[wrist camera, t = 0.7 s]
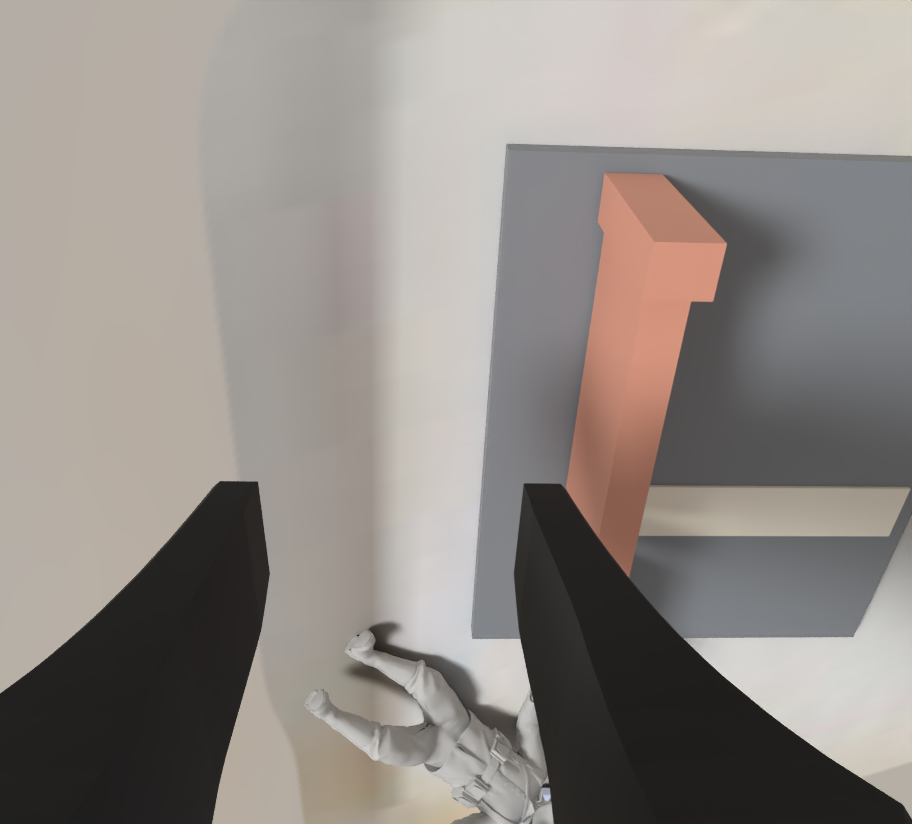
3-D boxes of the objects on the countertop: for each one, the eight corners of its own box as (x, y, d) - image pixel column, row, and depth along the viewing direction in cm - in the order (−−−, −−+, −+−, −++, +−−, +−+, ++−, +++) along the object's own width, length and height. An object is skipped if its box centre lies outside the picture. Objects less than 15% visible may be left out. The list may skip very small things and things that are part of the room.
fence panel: (603, 491, 24) (639, 604, 20) (558, 491, 23) (586, 604, 20) (662, 174, 18) (726, 243, 14) (604, 172, 18) (654, 242, 14)
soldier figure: (419, 562, 28) (665, 765, 29) (389, 569, 32) (602, 744, 33) (275, 756, 25) (554, 974, 26) (264, 733, 29) (502, 920, 30)
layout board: (845, 624, 29) (854, 639, 28) (471, 625, 28) (472, 641, 27) (1058, 160, 19) (1078, 168, 19) (506, 143, 19) (509, 151, 18)
